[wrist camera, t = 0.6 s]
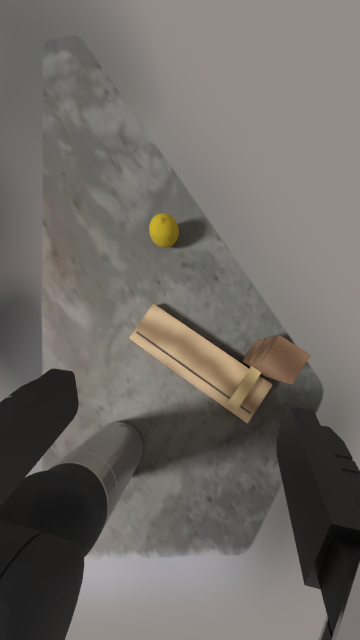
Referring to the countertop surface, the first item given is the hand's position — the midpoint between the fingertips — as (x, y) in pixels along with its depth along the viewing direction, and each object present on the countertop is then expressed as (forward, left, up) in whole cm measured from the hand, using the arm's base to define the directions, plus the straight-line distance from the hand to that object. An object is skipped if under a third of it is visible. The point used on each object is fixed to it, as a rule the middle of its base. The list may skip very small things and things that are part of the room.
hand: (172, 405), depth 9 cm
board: (+1, 0, -37) cm, 37 cm away
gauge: (+4, -9, -37) cm, 38 cm away
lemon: (+18, +19, -37) cm, 45 cm away
